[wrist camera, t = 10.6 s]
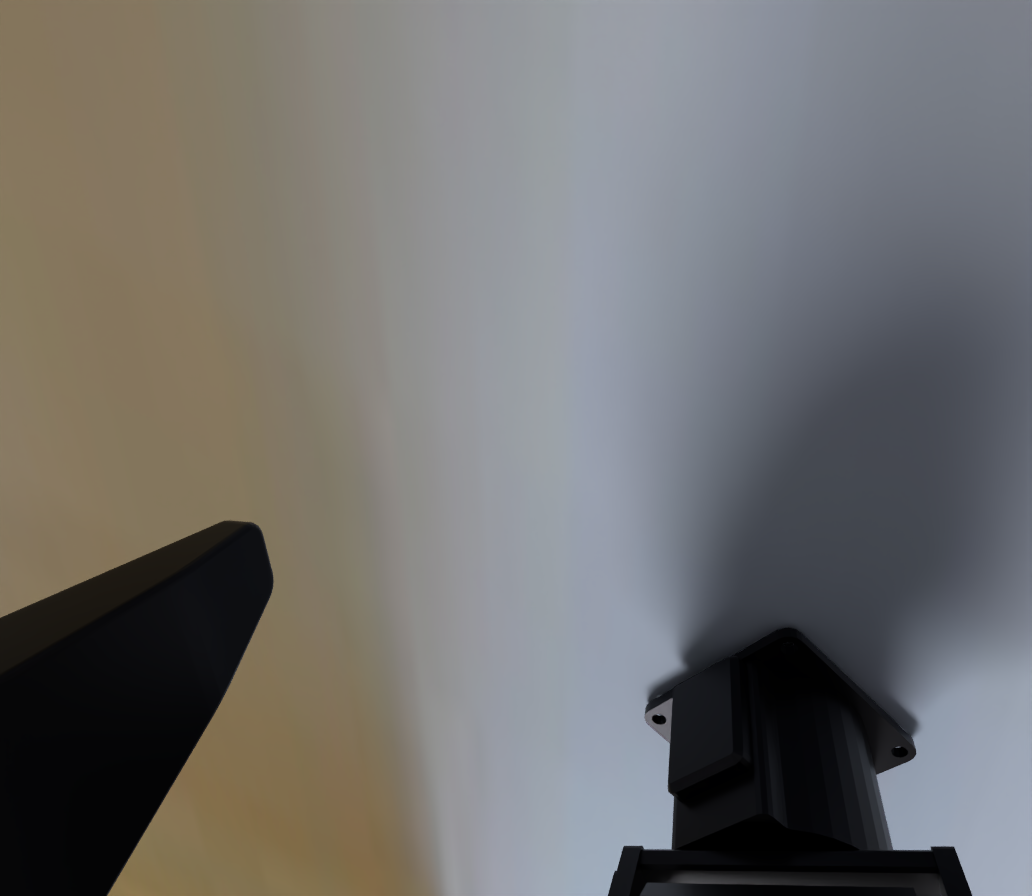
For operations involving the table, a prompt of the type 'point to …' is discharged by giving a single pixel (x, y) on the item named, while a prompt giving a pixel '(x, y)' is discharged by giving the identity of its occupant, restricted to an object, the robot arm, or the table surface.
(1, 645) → the robot arm
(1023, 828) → the table surface
